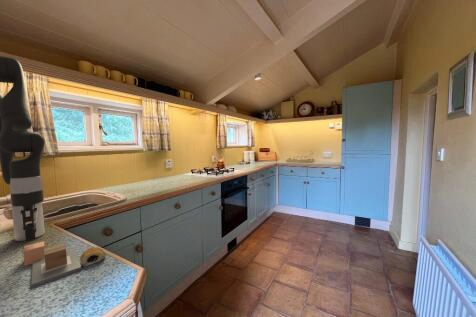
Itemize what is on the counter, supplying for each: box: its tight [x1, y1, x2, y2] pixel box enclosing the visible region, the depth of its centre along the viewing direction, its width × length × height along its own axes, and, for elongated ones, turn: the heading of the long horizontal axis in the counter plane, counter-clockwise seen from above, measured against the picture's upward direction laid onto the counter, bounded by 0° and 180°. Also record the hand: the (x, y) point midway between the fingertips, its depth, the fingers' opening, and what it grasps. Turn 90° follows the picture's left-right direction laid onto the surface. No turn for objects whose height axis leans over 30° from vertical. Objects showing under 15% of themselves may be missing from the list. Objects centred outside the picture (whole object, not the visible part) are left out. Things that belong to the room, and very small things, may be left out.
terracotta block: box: [22, 240, 46, 266], centre depth 69 cm, size 5×5×5 cm
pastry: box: [79, 246, 106, 267], centre depth 69 cm, size 9×7×4 cm
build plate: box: [30, 249, 82, 289], centre depth 64 cm, size 16×11×1 cm
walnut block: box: [44, 243, 67, 270], centre depth 64 cm, size 5×5×5 cm
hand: (31, 236), depth 68 cm, fingers open, 8 cm apart
